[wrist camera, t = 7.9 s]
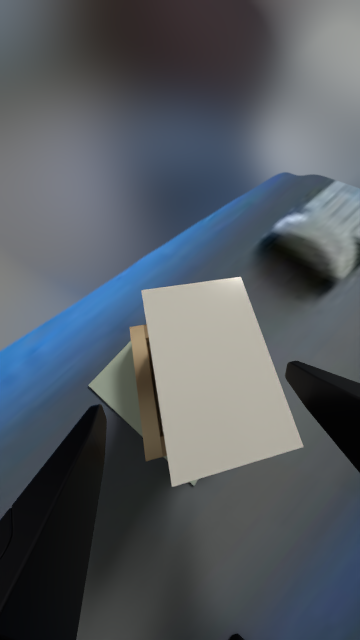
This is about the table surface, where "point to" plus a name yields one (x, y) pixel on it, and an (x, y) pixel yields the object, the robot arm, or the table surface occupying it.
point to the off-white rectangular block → (214, 380)
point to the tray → (147, 394)
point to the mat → (121, 389)
